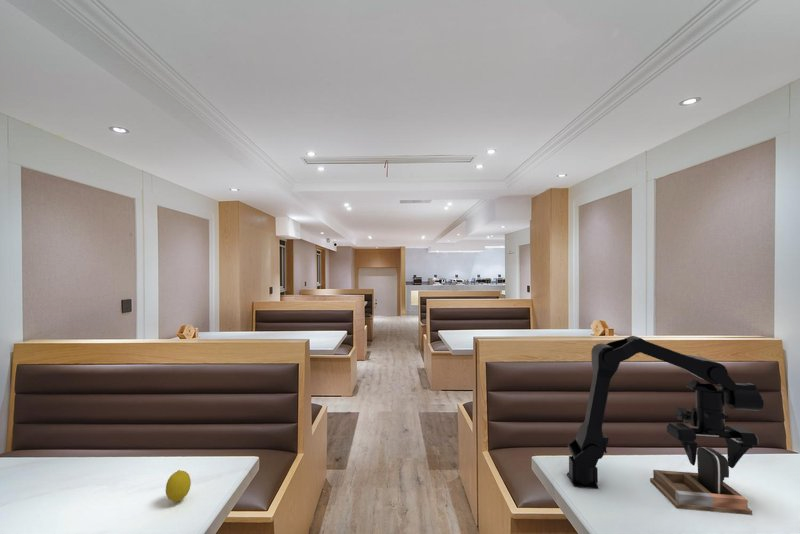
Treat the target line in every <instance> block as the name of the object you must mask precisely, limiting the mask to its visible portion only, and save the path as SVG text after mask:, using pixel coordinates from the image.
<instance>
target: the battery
mask: <svg viewBox="0 0 800 534" xmlns="http://www.w3.org/2000/svg"><path fill="white" fill-rule="evenodd" d="M696 460H697V473H698V482H699V483H700V484H701V485H702V486H703V487H705V488H706V489H707V490H708V491H709V492H711V493H712V494H723V489H722V486H723V482H724V481H725V478H726V479H727V478H730V467H729V465H728V458H727V457H725V456H724V455H723V454H721V453H720V452H719V451H717V450H715V449H713V448H711V447H704V446H700V447H697V453H696Z"/></svg>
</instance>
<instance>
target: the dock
mask: <svg viewBox="0 0 800 534" xmlns="http://www.w3.org/2000/svg"><path fill="white" fill-rule="evenodd" d="M652 471H653V473H652V475H653V477H649V481H650V483H651V484H652V485H653V486H654V487H655V488H656V489H657V490H658V491H659V492H660V493H661V494H662V496H664V497H665V498H666V499H667V500H668V501H669V503H671V504H672V506H674V508H676V509H679V510H692V511H700V512H702V511H703V512H713V513H714V512H716V513H727V514H737V515H738V514H740V515H750V516H753V509H751V508H749V504H748V503H749V501H748V500H749V499H748V498H746V497H745V496H743V495H742V494H741V493H740V492H738V491H737V490H735V489H734V488H732V487H731V486H730V485H729V484H727V483H726V482H725V481H723V486H722V489H723V494H712V493H711V492H709V491H708V490H707V489H706V488H705V487H703V486H702V485H701V484H700V483H699V482H698V472H689V471H676V470H675V471H674V470H663V469H662V470H661V469H660V470H659V469H653V470H652Z"/></svg>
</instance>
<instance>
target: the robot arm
mask: <svg viewBox="0 0 800 534" xmlns="http://www.w3.org/2000/svg"><path fill="white" fill-rule="evenodd" d="M639 353H641V354H643V355H646V356H649V357H651V358H655V359H657V360H659V361H663V362H664V363H668V364H670V365H673V366H675V367H678V368H680V369H682V370H685V372H687V373H689V374H691V375H693V376H695V377H697V378H699V379H701V380H703V381H705V382H700V381H699V380H697V379H694V378H693V379H692V380H691V381H689V382H688V383H686V384H685V386H686V388H689V389H691V390H693V391H695V406H692V408H691V409H692V410H687V408H686V407H675V417H676V418H677V420H683V422H669V423H667V425H666V433H668V434H669V435H671V437H673V438H675V439H676V440H678V441H679V442H680V443H681V445H682V447H683V449H684V451H685V454H686V457H687V459H688V461H689V463H690V465H692V466H695V464H696V460H697V450H698V443H697V442H696V440H697V437H703V438H721V439H722V438H723V439H724V440H725V443H726V445H727V446H726V447H727V448H726V449H727V451H726V452H727V461H728V465H729V468H731V469H733V468H735V466H736V465H737V463H738V462H739V461H740V460H741V459H742V457H743V456H744V455H745V454H746V453H747V452H748V451H749V450H750V449H753V448H754V446H755V447H756V446H759V437H758V436H757V435H756V433H754V432H753V431H751V430H748V429H747V428H745V427H743V426H741V425H725V423H726V422H725V420H729V414H727V413H725V405H726V406H727V407H728V408H729V409H730V410H731V409H732V410H741V411H742V410H743V411H756V412H758V411H759V412H760V411H762V409H763V408H764V403H765V402H764V400H763V397H762V394H760V391H758V390H757V389H758V388H757V385H756V384H753V383H751V382H742V383H741V382H735V381H734V380H733V379H732V378H731V377H730V375H729V373H728V369H727V368H726V366H725V365H724V364H722V363H719V362H717V361H715V360H711V359H709V358H706V357H702V356H696V355H691V354H684V353H680V352H678V351H675V350H672V349H670V348H667V347H664V346H661V345H658V344H655V343H653V342H650V341H647V340H645V339H643V338H641V337H638V336H636V335H629V336H628V337H625V338H621V339H617V340H614V341H610V342H607V343H605V342H604V343H603V342H602V343H597V344H596V345H593V347H592V349H591V354H590V355H591V367H592V378H591V379H592V380H591V385H590V391H589V395H588V400H587V406H586V412H585V418H584V421H583V422H582V423H581V425H580V426H579V428H578V431H577V432H576V436H575V438H574V439H573V440H572V441H571V442H570V443H568V444H567V448H568V450H569V453H570V454H571V455H569V456H568V472H567V474H566V475H567V477H568V479H569V481H570V482H571V484H572V486H574V488H575V487H576V488H577V487H578V488H588V489H599V485H598V482H599V479H598V477H599V476H598V474H599V471H598V467H597V464H598V461H599V460H601V459H602V458H603V457H604V455H605V454H607V453H608V451H607V446H608V443H609V437H608V436H607V435H606V434H605V432H604V431H603V425H604V419H605V412H606V407H607V401H608V397H609V391H610V385H611V380H612V378H613V377H614V375H616V373H617V371H618V368H619V367H620V364H621V362H624V361H627V360H629V359H630V358H632V357H634V356H635V355H637V354H639ZM715 385H719V386H715ZM689 423H690V425H691V426H693V427H694V428H692V427H690V426H688V425H686V424H689ZM695 427H696V428H695Z"/></svg>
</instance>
